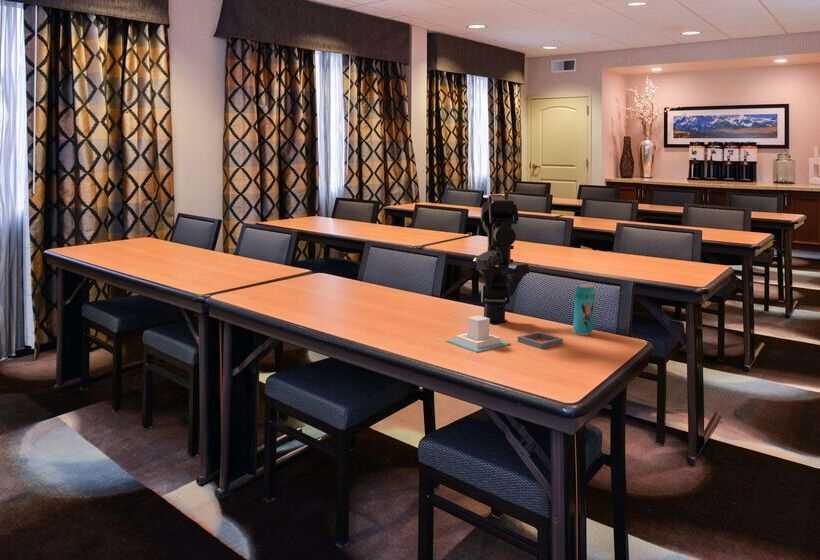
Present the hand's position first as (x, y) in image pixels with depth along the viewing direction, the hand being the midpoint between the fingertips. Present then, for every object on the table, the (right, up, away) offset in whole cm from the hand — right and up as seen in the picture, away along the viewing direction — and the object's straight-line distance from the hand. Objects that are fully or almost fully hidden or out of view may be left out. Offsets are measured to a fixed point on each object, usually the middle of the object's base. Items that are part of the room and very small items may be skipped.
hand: (499, 293), depth 188 cm
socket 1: (-7, -14, -9) cm, 18 cm away
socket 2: (+11, -14, -8) cm, 19 cm away
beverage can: (+26, -12, +2) cm, 28 cm away
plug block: (-7, -14, -9) cm, 18 cm away
